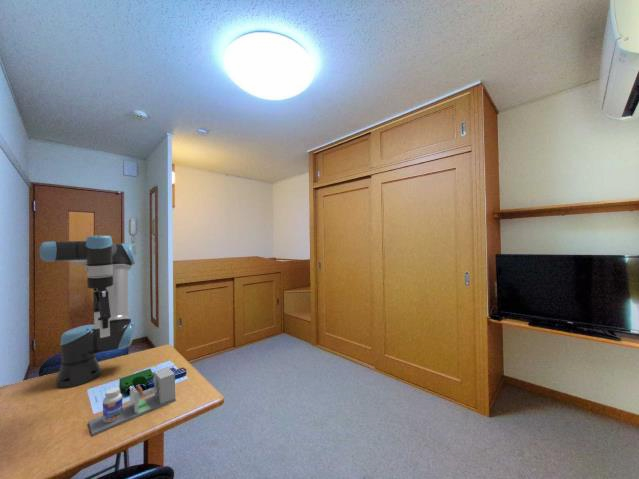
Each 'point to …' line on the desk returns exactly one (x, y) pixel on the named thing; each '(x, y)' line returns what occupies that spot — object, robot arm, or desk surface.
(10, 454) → the desk surface
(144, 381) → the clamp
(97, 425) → the base
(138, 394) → the plunger
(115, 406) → the pill bottle
